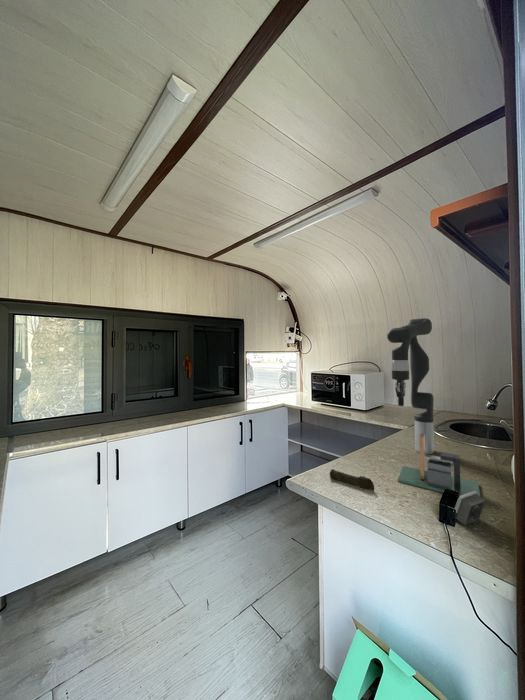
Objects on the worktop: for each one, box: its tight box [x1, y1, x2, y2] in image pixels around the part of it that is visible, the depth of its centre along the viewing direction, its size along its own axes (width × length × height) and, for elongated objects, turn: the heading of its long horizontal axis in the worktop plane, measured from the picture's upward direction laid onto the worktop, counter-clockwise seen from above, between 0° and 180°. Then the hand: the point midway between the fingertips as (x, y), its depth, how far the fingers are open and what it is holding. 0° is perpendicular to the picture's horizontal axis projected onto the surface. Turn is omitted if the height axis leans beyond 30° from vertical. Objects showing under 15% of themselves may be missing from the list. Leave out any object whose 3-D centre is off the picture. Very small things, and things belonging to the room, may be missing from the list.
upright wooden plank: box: [419, 433, 454, 479], centre depth 114 cm, size 6×12×18 cm, turn 54°
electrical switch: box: [454, 491, 486, 526], centre depth 88 cm, size 9×5×9 cm, turn 113°
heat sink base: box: [397, 451, 481, 497], centre depth 114 cm, size 16×28×13 cm, turn 54°
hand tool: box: [329, 468, 375, 491], centre depth 114 cm, size 19×4×5 cm, turn 47°
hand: (401, 405), depth 128 cm, fingers closed
